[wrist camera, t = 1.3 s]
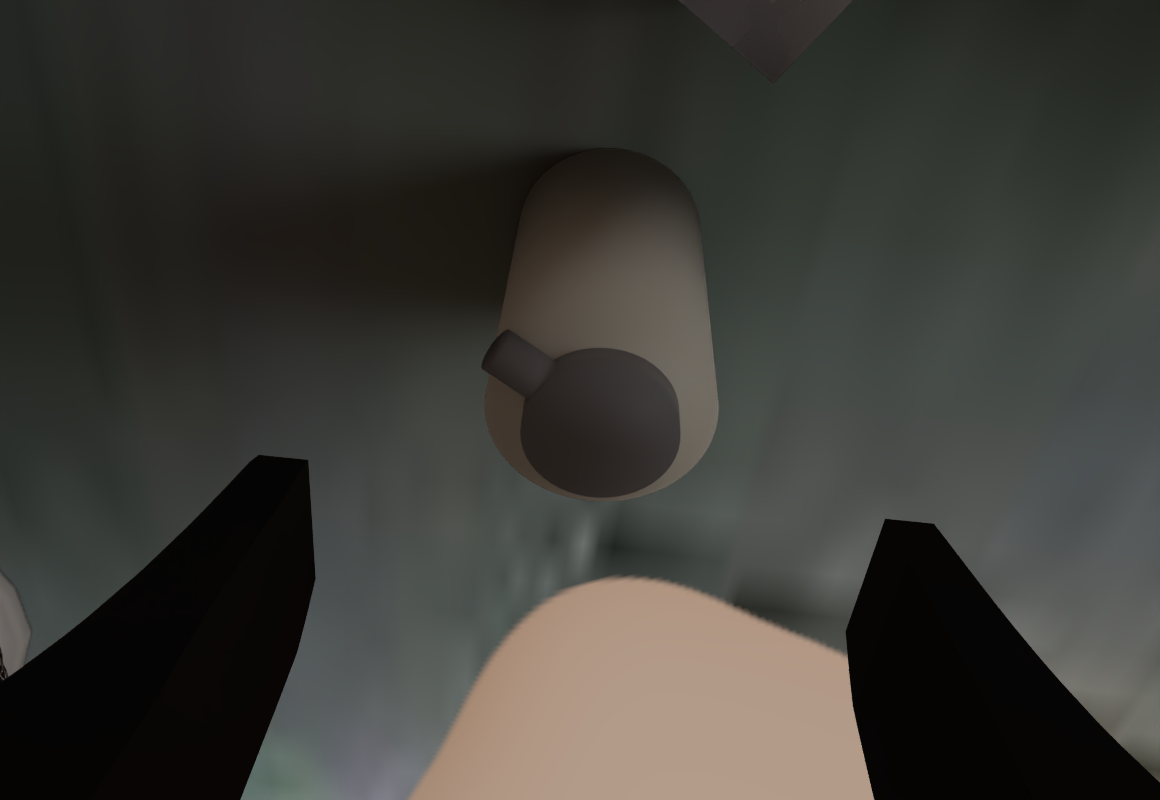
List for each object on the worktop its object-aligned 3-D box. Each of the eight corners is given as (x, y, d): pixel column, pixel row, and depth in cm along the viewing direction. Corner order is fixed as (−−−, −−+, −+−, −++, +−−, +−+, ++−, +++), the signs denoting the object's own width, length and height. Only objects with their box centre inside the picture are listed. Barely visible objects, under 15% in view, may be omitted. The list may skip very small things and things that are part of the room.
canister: (738, 224, 21) (771, 427, 16) (620, 341, 23) (614, 559, 18) (588, 104, 20) (571, 280, 15) (475, 237, 22) (422, 439, 16)
